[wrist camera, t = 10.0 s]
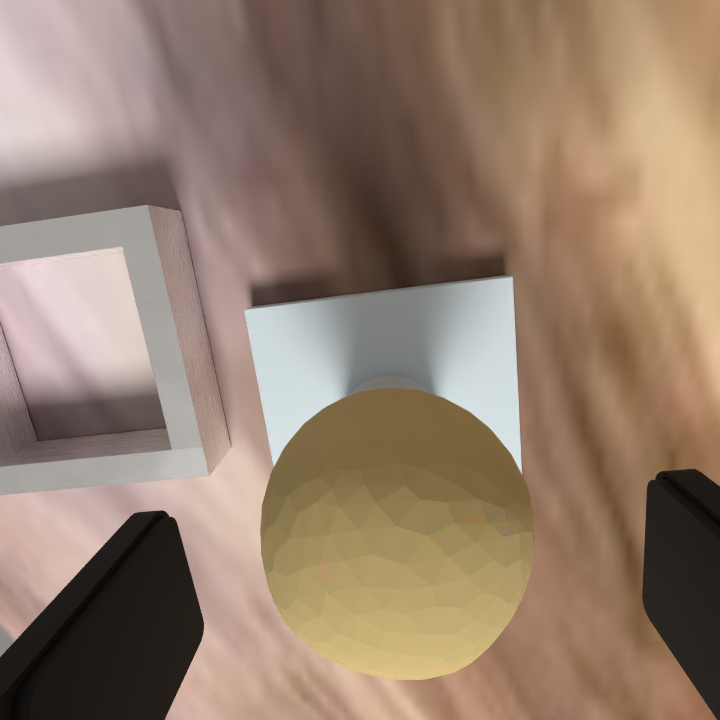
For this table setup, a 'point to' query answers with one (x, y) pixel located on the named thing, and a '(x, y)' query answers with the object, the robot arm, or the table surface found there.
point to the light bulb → (397, 532)
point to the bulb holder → (165, 348)
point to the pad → (390, 352)
